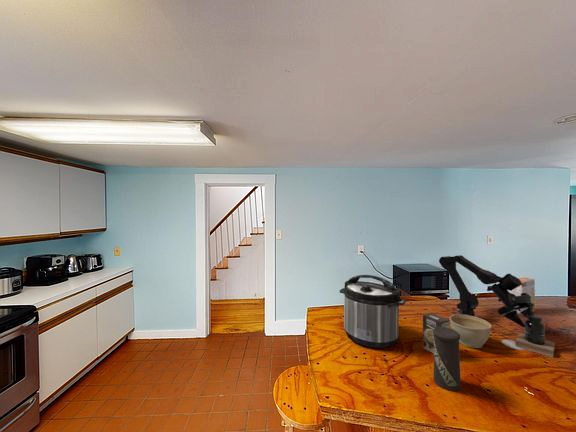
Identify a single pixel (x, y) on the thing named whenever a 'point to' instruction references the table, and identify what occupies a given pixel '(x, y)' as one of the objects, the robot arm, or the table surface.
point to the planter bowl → (471, 330)
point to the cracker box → (526, 290)
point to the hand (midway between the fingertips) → (530, 325)
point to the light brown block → (536, 346)
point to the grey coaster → (511, 344)
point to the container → (446, 358)
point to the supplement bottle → (534, 330)
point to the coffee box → (428, 325)
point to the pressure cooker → (371, 311)
